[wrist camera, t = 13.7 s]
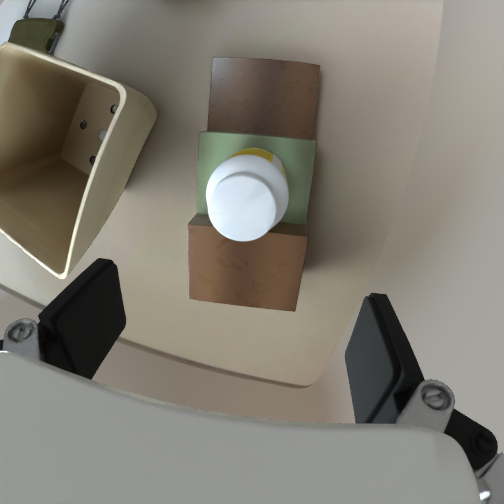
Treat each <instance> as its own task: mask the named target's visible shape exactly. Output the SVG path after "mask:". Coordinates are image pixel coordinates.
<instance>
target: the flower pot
mask: <svg viewBox="0 0 504 504" xmlns="http://www.w3.org/2000/svg"><path fill="white" fill-rule="evenodd" d="M114 104H116V105H118V109H117V111H116V113H115V114H112V113H111V107H112V105H114ZM156 119H157V110H156V108H155V106H154V104H153V103H152V101H151V100H150V99H149V98H147V97H146V96H145V95H143V94H142V93H140V92H138V91H137V90H135V89H133V88H131V87H128V86H126V85H124V84H122V83H119V82H117V81H115V80H112V79H110V78H108V77H105V76H103V75H100V74H98V73H95V72H93V71H90V70H88V69H85V68H83V67H80V66H78V65H75V64H72V63H70V62H67V61H65V60H62V59H59V58H57V57H54V56H51V55H49V54H46V53H43V52H40V51H37V50H34V49H31V48H28V47H25V46H22V45H18V44H14V43H10V42H4V43H3V44H2V45H1V46H0V231H1V232H2V233H3V234H5V235H6V236H7V237H8V238H9V239H10V240H11V241H13V242H14V243H15V244H16V245H17V246H19V247H20V248H21V249H22V250H23V251H25V252H26V253H27V254H28V255H29V256H31V257H32V258H33V259H34V260H36V261H37V262H38V263H39V264H41V265H42V266H43V267H45V268H46V269H47V270H49V271H50V272H51V273H52V274H54V275H55V276H56V277H58V278H60V279H65V278H66V277H67V276H68V275H69V273H70V272H71V271H72V270H73V268H74V267H75V266H76V265H77V263H78V262H79V261H80V259H81V258H82V256H83V255H84V253H85V252H86V251H87V249H88V248H89V246H90V245H91V243H92V242H93V240H94V239H95V237H96V236H97V235H98V233H99V232H100V230H101V228H102V227H103V225H104V224H105V222H106V220H107V219H108V217H109V216H110V214H111V212H112V210H113V209H114V207H115V205H116V203H117V202H118V200H119V198H120V196H121V194H122V192H123V190H124V188H125V186H126V183H127V181H128V179H129V176H130V174H131V172H132V169H133V167H134V165H135V163H136V160H137V158H138V156H139V154H140V152H141V149H142V147H143V145H144V143H145V141H146V139H147V137H148V135H149V133H150V131H151V129H152V127H153V125H154V123H155V121H156ZM83 120H86V122H87V127H86V128H85V129H81V127H80V123H81V121H83ZM92 156H95V157H96V160H95V163H94V165H92V164H91V163H90V157H92Z"/></svg>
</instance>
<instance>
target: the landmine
mask: <svg viewBox="0 0 504 504" xmlns="http://www.w3.org/2000/svg"><path fill="white" fill-rule="evenodd" d="M31 1H32V0H30V1H29V4H28V7H27V10H26V13H25V15H24V16H23V18H25V19H22V20H18V21H16V22H15V24H14V26H13V28H12V30H11V35H10V37H9V40H8V42H10V43H14V44H18V45H22V46H25V47H28V48H31V49H34V50H37V51H40V52H43V53H46V54H49V55H51V56H52V54H53V50H54V47H55V45H56V42H57V40H58V38H59V36H60V34H61V31H62V29H63V26H64V24H63V22H62V21H59V20H57V19H56V18H60V14H61V12H62V11H63V9H64V8H65V6H66V4H67V3H68V1H69V0H67V1H66V2H65V4H64V5H63V3H64V1H65V0H62V3H61V5H60V8H59V10H58V13H57V15H54V17H53V18H52V19H46V18H28V16H27V15H28V13H29V12H30V10H31V8H32V7H33V5H34V3H35V2H36V0H34V1H33V3H32V5H31V6H30V4H31ZM62 6H63V7H62ZM29 7H30V8H29ZM61 8H62V9H61Z"/></svg>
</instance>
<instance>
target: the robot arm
mask: <svg viewBox="0 0 504 504" xmlns="http://www.w3.org/2000/svg"><path fill="white" fill-rule="evenodd" d="M38 317H39V320H40V322H39V323H38V324H37V323H36V322H35V321H34V320H32V319H29V318H23V319H19V320H16V321H14V322H13V323H11V324H10V325H9V326H8V327H7V329H6V330H5V334H4V339H3V340H0V504H504V454H503V453H500V454H498V453H497V449H498V445H497V440H496V438H495V436H494V435H493V434H492V432H491V431H489V430H488V429H486V428H485V427H483V426H481V425H480V424H478V423H477V422H475V421H473V420H472V419H470V418H469V417H467V416H465V415H463V414H462V413H460V412H459V411H457V410H456V409H454V405H455V398H454V394H453V392H452V390H451V389H450V388H449V387H448V386H447V385H445V384H444V383H443V382H440V381H438V380H432V379H430V380H425V379H424V377H423V374H422V372H421V369H420V367H419V365H418V362H417V360H416V357H415V355H414V353H413V350H412V348H411V345H410V343H409V341H408V339H407V337H406V334H405V332H404V331H403V329H402V326H401V324H400V322H399V320H398V318H397V316H396V313H395V311H394V309H393V307H392V305H391V303H390V301H389V299H388V297H387V295H386V294H378V293H371V294H370V295H369V297H368V296H366V297H365V298H364V300H363V303H362V307H361V309H360V312H359V315H358V318H357V321H356V324H355V327H354V330H353V333H352V336H351V338H350V341H349V343H348V346H347V349H346V352H345V362H346V367H347V373H348V378H349V384H350V390H351V396H352V402H353V408H354V415H355V422H356V424H341V423H312V422H295V421H282V420H272V419H262V418H254V417H246V416H238V415H231V414H225V413H219V412H213V411H208V410H202V409H197V408H192V407H187V406H182V405H177V404H173V403H169V402H164V401H160V400H157V399H153V398H149V397H145V396H141V395H138V394H134V393H131V392H127V391H124V390H120V389H117V388H114V387H111V386H108V385H105V384H102V383H99V382H96V381H93V380H91V379H92V377H93V376H94V374H95V373H96V371H97V370H98V368H99V366H100V365H101V363H102V362H103V360H104V358H105V357H106V355H107V354H108V352H109V351H110V349H111V348H112V346H113V345H114V343H115V341H116V340H117V338H118V337H119V335H120V334H121V332H122V331H123V329H124V328H125V325H126V316H125V311H124V305H123V300H122V294H121V288H120V282H119V275H118V269H117V266H116V265H115V264H114V262H113V261H112V260H109V259H103V258H98V259H97V260H96V261H94V262H93V263H92V264H91V265H90V266H89V267H88V268H87V269H86V270H84V271H83V272H82V273H81V274H80V275H79V276H78V277H77V278H76V279H75V280H74V281H73V282H72V283H70V284H69V285H68V286H67V287H66V288H65V289H64V290H63V291H62V292H61V293H60V294H59V295H58V296H57V297H56V298H55V299H54V300H53V301H52V302H51V303H50V304H49V305H48V306H47V307H46V308H45V309H44V310H43V311H42V312H41V313H40V314H39V315H38Z"/></svg>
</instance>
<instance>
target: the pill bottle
mask: <svg viewBox="0 0 504 504" xmlns="http://www.w3.org/2000/svg"><path fill="white" fill-rule="evenodd" d="M206 200H207V205H208V213H209V217H210V220H211V222H212V224H213V225H214V227H215V228H216V229H217V230H218V231H219V232H220V233H221V234H222V235H224V236H226V237H227V238H229V239H232V240H236V241H251V240H255V239H257V238H259V237H261V236H263V235H264V234H265V233H267V232H268V231H269V230H270V229H271V228H273V227H274V226H275V225H276V224H277V223H278V222H279V221H280V220H281V218H282V217H283V215H284V213H285V211H286V209H287V205H288V200H289V191H288V184H287V178H286V172H285V169H284V166H283V164H282V162H281V161H280V159H279V158H278V157H277V156H276V155H275V154H273V153H272V152H270V151H269V150H266V149H264V148H259V147H248V148H244V149H242V150H240V151H238V152H236V153H235V154H233V155H232V156H230V157H229V158H228V159H227V160H225V161H224V162H223V163H221V164H220V165H219V166H218V167H217V168H216V169H215V171H214V172H213V173H212V175H211V177H210V179H209V181H208V185H207V190H206Z"/></svg>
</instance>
